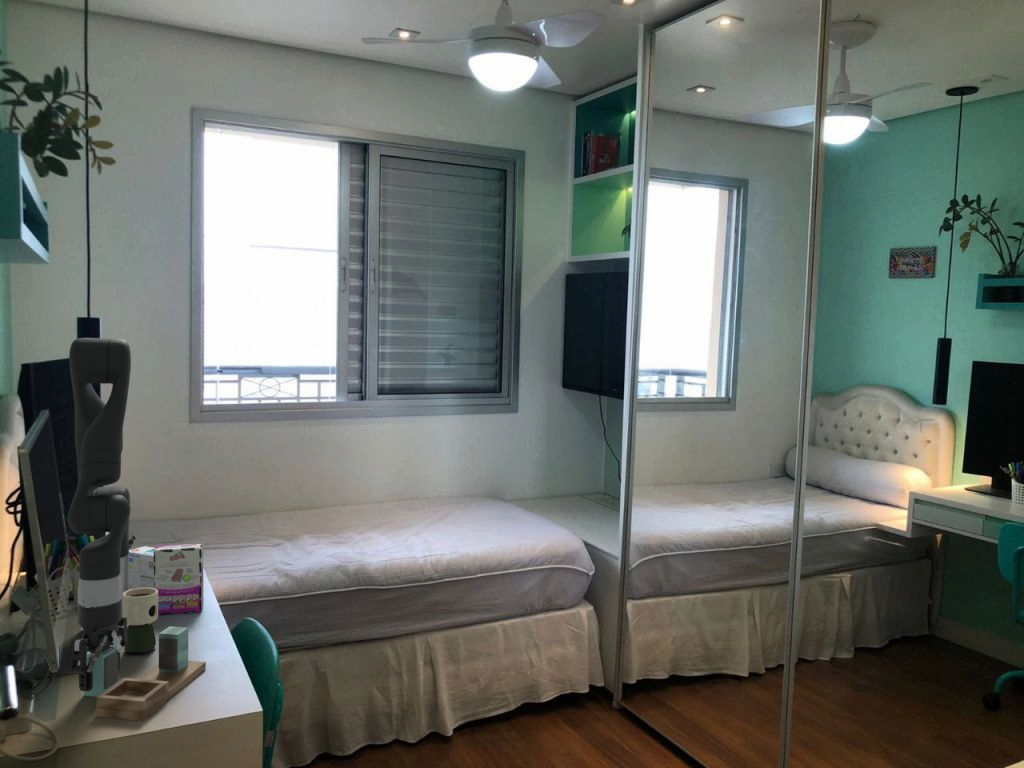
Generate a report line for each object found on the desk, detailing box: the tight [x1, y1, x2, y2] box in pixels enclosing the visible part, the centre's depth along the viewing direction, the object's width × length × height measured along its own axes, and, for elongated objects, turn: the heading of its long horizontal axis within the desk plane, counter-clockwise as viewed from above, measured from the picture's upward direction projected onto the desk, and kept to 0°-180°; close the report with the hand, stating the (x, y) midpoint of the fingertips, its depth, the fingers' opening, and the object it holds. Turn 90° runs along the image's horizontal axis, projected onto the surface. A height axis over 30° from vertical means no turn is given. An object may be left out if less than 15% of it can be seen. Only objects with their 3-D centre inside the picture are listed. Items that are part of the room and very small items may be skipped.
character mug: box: [123, 588, 159, 654], centre depth 177 cm, size 11×7×13 cm, turn 13°
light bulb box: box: [129, 545, 156, 589], centre depth 218 cm, size 11×7×11 cm, turn 68°
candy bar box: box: [154, 543, 205, 616], centre depth 202 cm, size 11×5×16 cm, turn 105°
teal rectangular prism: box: [83, 648, 119, 698], centre depth 156 cm, size 4×4×8 cm
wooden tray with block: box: [95, 625, 207, 722], centre depth 157 cm, size 9×23×10 cm, turn 173°
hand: (100, 680), depth 156 cm, fingers open, 8 cm apart
